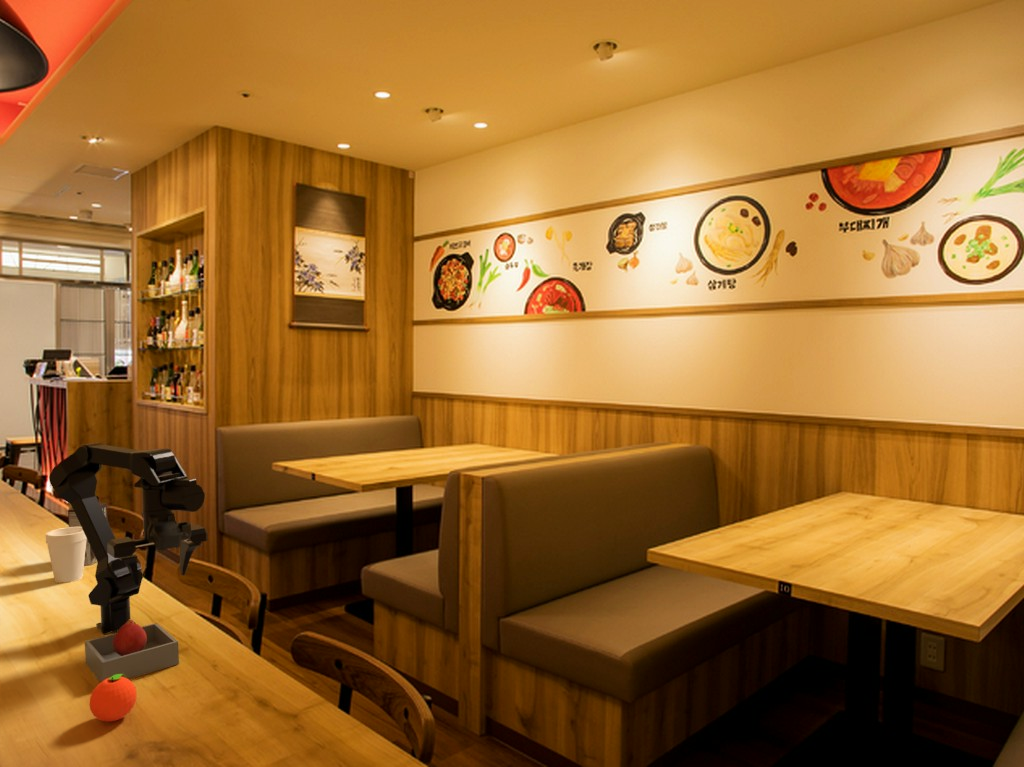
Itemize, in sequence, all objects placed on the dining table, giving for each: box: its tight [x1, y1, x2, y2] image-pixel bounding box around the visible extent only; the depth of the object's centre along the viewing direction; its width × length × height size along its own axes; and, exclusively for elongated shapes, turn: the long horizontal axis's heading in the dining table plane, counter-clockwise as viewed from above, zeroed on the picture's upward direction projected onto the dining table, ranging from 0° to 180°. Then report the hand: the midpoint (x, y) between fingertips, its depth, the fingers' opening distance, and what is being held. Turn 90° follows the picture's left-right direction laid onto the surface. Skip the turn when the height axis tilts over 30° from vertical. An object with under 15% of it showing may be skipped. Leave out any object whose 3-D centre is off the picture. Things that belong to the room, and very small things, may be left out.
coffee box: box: [67, 502, 109, 566], centre depth 208 cm, size 9×6×16 cm
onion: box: [113, 618, 147, 656], centre depth 140 cm, size 6×6×8 cm
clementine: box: [89, 674, 137, 723], centre depth 120 cm, size 8×7×7 cm
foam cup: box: [45, 526, 87, 584], centre depth 191 cm, size 10×9×13 cm
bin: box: [84, 622, 180, 684], centre depth 140 cm, size 13×13×4 cm
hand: (160, 579), depth 154 cm, fingers open, 9 cm apart
